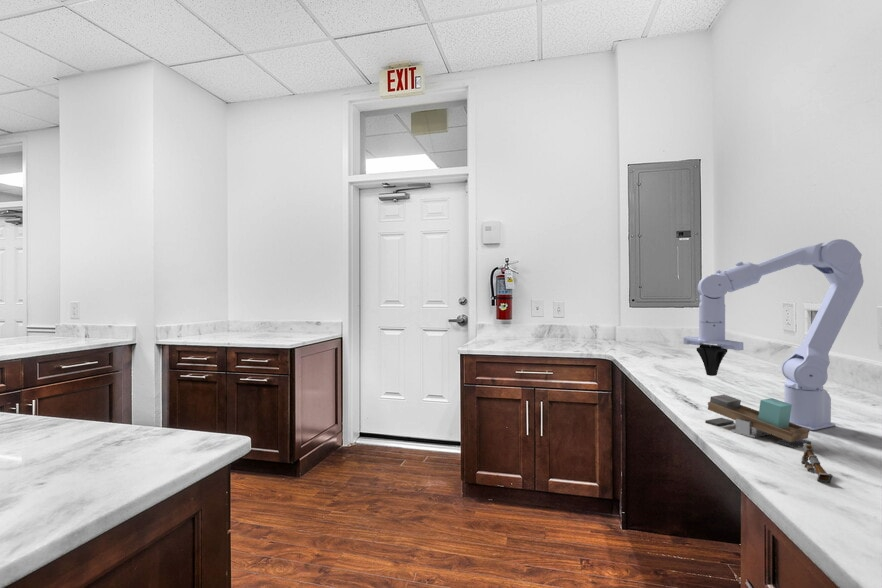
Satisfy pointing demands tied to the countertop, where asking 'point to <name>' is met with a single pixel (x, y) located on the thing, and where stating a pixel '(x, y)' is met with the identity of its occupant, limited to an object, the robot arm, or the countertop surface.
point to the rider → (775, 412)
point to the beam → (754, 418)
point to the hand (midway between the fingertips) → (711, 375)
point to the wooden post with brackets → (814, 464)
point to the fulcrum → (752, 430)
